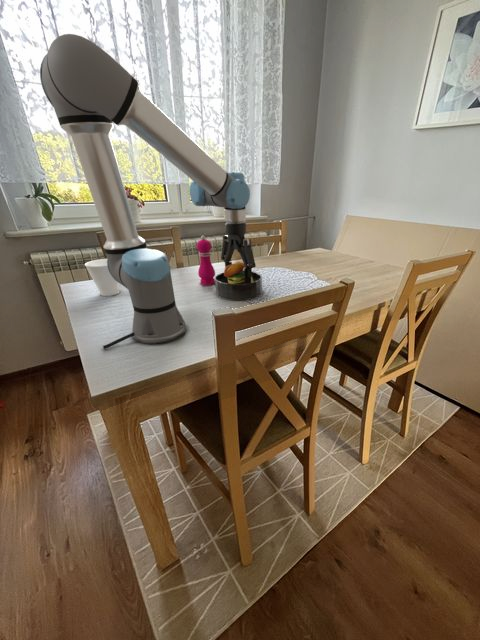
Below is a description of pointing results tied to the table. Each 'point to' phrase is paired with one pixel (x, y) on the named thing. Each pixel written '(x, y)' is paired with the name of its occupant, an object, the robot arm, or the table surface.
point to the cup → (102, 277)
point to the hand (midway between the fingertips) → (238, 281)
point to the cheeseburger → (235, 273)
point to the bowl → (238, 288)
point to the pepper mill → (205, 262)
